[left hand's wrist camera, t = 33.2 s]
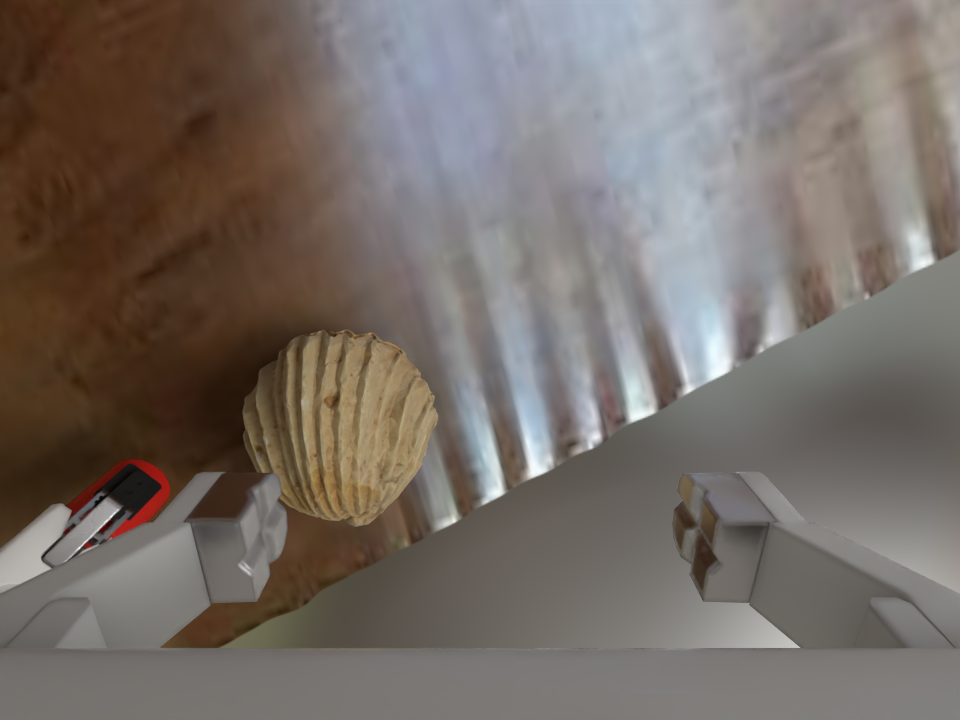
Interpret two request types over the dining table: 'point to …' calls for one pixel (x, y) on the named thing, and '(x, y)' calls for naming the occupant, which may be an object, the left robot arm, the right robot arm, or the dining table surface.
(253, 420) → the fossil
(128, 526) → the can
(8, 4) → the dining table surface
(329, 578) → the dining table surface
